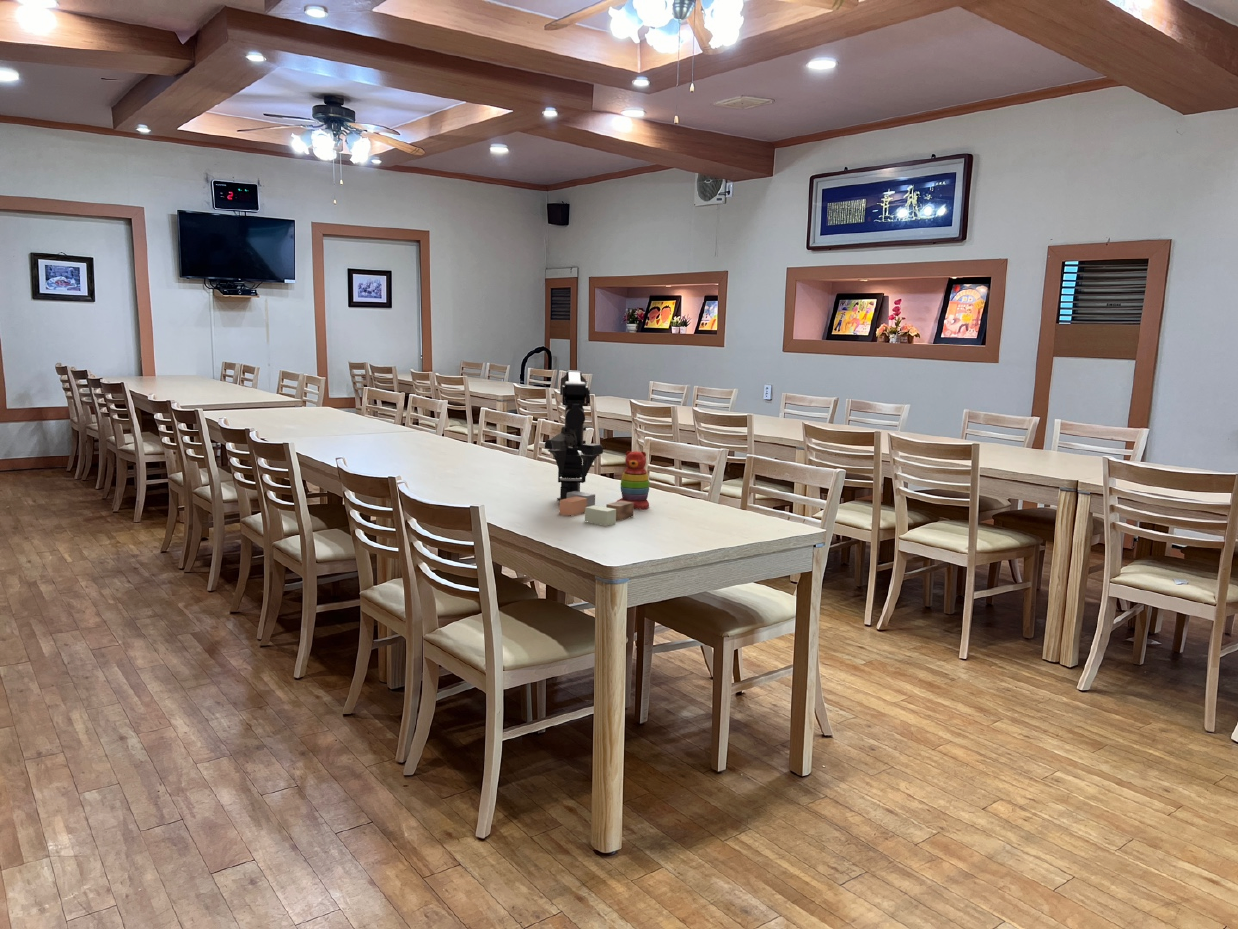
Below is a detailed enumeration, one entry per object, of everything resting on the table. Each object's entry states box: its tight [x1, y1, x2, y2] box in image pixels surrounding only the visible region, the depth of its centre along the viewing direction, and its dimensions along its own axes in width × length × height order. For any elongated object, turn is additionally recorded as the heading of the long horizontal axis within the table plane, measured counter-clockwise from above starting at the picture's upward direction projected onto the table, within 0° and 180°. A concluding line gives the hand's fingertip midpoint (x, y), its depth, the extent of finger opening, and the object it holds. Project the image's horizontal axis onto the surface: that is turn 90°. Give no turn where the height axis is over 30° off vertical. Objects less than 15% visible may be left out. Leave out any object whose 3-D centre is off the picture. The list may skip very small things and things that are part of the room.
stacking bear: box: [615, 450, 650, 510], centre depth 283 cm, size 11×10×18 cm
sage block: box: [584, 504, 617, 527], centre depth 257 cm, size 8×4×4 cm, turn 55°
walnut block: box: [605, 500, 635, 522], centre depth 265 cm, size 8×4×4 cm, turn 145°
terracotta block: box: [558, 496, 587, 516], centre depth 269 cm, size 8×4×4 cm, turn 145°
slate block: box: [567, 491, 596, 507], centre depth 278 cm, size 8×4×4 cm, turn 55°
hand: (572, 474), depth 267 cm, fingers open, 9 cm apart
